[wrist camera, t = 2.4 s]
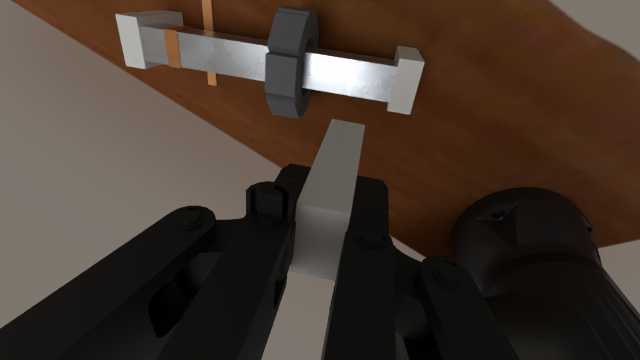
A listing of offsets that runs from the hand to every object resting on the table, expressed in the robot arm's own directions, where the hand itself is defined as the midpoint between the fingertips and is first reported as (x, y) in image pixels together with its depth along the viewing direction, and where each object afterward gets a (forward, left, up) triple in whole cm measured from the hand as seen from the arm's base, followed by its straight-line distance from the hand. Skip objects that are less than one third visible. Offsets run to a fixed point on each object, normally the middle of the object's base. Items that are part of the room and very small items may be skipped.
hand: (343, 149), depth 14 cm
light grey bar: (+9, 0, -17) cm, 19 cm away
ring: (+6, 0, -21) cm, 22 cm away
